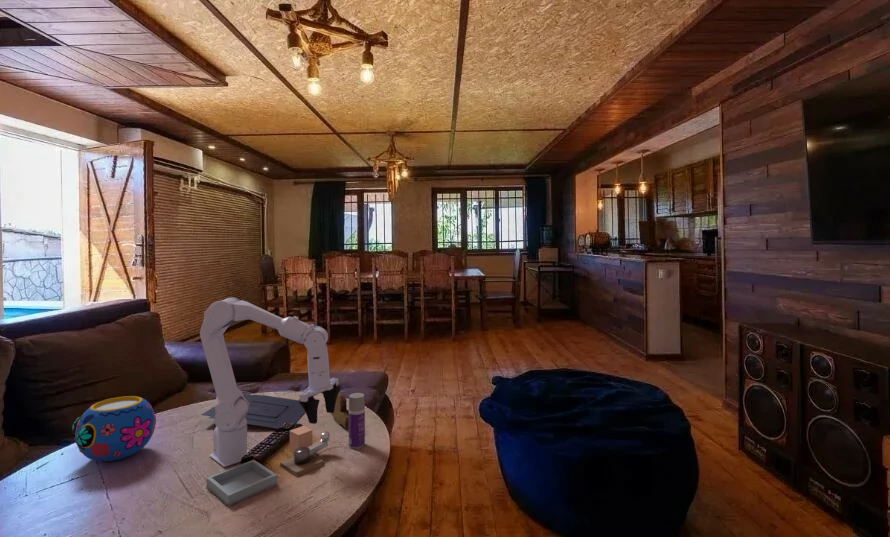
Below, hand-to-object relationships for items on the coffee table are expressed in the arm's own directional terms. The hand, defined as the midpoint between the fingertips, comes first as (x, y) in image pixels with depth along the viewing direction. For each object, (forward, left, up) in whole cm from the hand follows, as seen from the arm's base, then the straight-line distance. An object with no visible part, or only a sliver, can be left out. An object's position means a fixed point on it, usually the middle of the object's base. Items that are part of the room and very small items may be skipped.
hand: (322, 417), depth 119 cm
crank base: (+2, -8, -10) cm, 13 cm away
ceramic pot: (-41, -38, -10) cm, 57 cm away
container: (+4, +9, -10) cm, 14 cm away
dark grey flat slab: (-39, +2, -11) cm, 41 cm away
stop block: (-6, -3, -10) cm, 12 cm away
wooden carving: (-13, +16, -10) cm, 23 cm away
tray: (0, -23, -10) cm, 25 cm away
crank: (+1, -4, -9) cm, 10 cm away
